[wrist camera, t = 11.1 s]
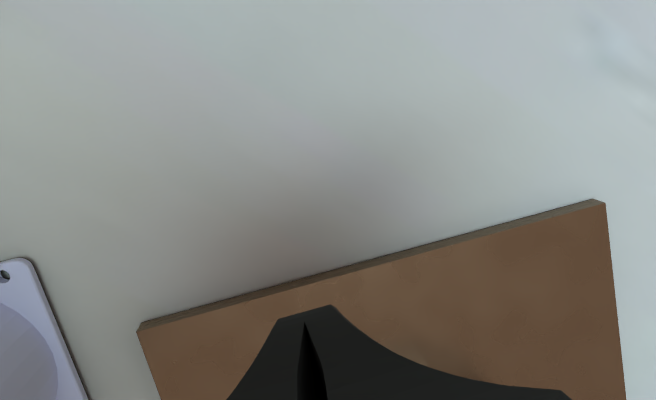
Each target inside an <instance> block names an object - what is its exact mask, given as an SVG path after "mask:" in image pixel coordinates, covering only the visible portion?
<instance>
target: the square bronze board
mask: <svg viewBox="0 0 656 400" xmlns="http://www.w3.org/2000/svg"><path fill="white" fill-rule="evenodd" d="M330 304H331V305H332V306H334V307H336V308H337V310H338V311H339V312H340V313H341V314H342V315H343V316H344V317H345V318H346V319H347V320H349V321H350V322H351V323H352V324H353V325H354V326H356V327H357V328H358V329H359V330H361V331H362V332H364V333H365V334H366V335H368V336H369V337H370V338H372V339H373V340H375V341H376V342H378V343H379V344H381V345H383V346H384V347H386V348H387V349H389V350H391V351H393V352H394V353H396V354H398V355H401V356H403V357H405V358H407V359H410V360H412V361H414V362H416V363H419V364H421V365H424V366H427V367H430V368H433V369H436V370H439V371H442V372H446V373H449V374H452V375H456V376H460V377H464V378H469V379H473V380H478V381H484V382H489V383H495V384H500V385H507V386H519V387H530V388H542V389H554V390H561V391H563V392H564V393H565V394H566V395H567V396H568V397H569V398H571V399H572V400H626V392H625V383H624V373H623V364H622V355H621V345H620V336H619V326H618V317H617V308H616V298H615V289H614V279H613V270H612V260H611V251H610V242H609V232H608V223H607V213H606V204H605V203H604V202H601V201H598V200H595V199H591V200H587V201H583V202H580V203H576V204H573V205H569V206H565V207H562V208H558V209H554V210H551V211H547V212H543V213H540V214H536V215H532V216H529V217H525V218H521V219H518V220H514V221H511V222H507V223H503V224H500V225H496V226H492V227H489V228H485V229H481V230H478V231H474V232H470V233H467V234H463V235H459V236H456V237H452V238H448V239H445V240H441V241H438V242H434V243H430V244H427V245H423V246H419V247H416V248H412V249H408V250H405V251H401V252H397V253H394V254H390V255H386V256H383V257H379V258H376V259H372V260H368V261H365V262H361V263H357V264H354V265H350V266H346V267H343V268H339V269H335V270H332V271H328V272H324V273H321V274H317V275H314V276H310V277H306V278H303V279H299V280H295V281H292V282H288V283H284V284H281V285H277V286H273V287H270V288H266V289H262V290H259V291H255V292H251V293H248V294H244V295H241V296H237V297H233V298H230V299H226V300H222V301H219V302H215V303H211V304H208V305H204V306H200V307H197V308H193V309H189V310H186V311H182V312H179V313H175V314H171V315H168V316H164V317H160V318H157V319H153V320H149V321H146V322H142V323H141V324H140V326H139V328H138V330H137V331H136V333H137V336H138V338H139V341H140V344H141V346H142V349H143V352H144V354H145V357H146V360H147V362H148V365H149V368H150V371H151V373H152V376H153V379H154V381H155V384H156V387H157V389H158V392H159V395H160V397H161V400H226V399H227V398H228V397H229V396H230V394H231V393H232V392H233V390H234V389H235V388H236V386H237V385H238V383H239V382H240V381H241V379H242V378H243V376H244V375H245V373H246V372H247V371H248V369H249V368H250V366H251V365H252V363H253V361H254V360H255V358H256V356H257V355H258V353H259V351H260V350H261V348H262V346H263V344H264V343H265V341H266V339H267V337H268V335H269V334H270V332H271V330H272V328H273V326H274V325H275V323H276V321H277V320H278V319H280V318H283V317H287V316H290V315H294V314H297V313H301V312H305V311H308V310H312V309H315V308H319V307H323V306H326V305H330Z"/></svg>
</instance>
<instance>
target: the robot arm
mask: <svg viewBox="0 0 656 400" xmlns="http://www.w3.org/2000/svg"><path fill="white" fill-rule="evenodd" d="M1 270H4V271H6V272H8V273H9V275H10V279H5V278H3V277H2V276H1ZM0 400H88V397H87V395H86V393H85V390H84V388H83V385H82V383H81V380H80V378H79V376H78V373H77V371H76V368H75V366H74V364H73V361H72V359H71V356H70V354H69V351H68V349H67V347H66V344H65V342H64V339H63V337H62V335H61V332H60V330H59V327H58V325H57V322H56V320H55V318H54V315H53V313H52V310H51V308H50V306H49V303H48V301H47V298H46V296H45V293H44V291H43V289H42V286H41V284H40V281H39V279H38V277H37V274H36V272H35V269H34V267H33V265H32V264H31V262H29V261H28V260H26V259H23V258H14V259H10V260H7V261H3V262H0ZM226 400H572V399H571V398H569V397H568V396H567V395H566V394H565V393H564V392H563V391H561V390H554V389H542V388H530V387H519V386H507V385H500V384H495V383H489V382H484V381H478V380H473V379H469V378H464V377H460V376H456V375H452V374H449V373H446V372H442V371H439V370H436V369H433V368H430V367H427V366H424V365H421V364H419V363H416V362H414V361H412V360H410V359H407V358H405V357H403V356H401V355H398V354H396V353H394V352H393V351H391V350H389V349H387V348H386V347H384V346H383V345H381V344H379V343H378V342H376V341H375V340H373V339H372V338H370V337H369V336H368V335H366V334H365V333H364V332H362V331H361V330H359V329H358V328H357V327H356V326H354V325H353V324H352V323H351V322H350V321H349V320H347V319H346V318H345V317H344V316H343V315H342V314H341V313H340V312H339V311H338V310H337V308H336V307H334V306H332V305H331V304H330V305H326V306H323V307H319V308H315V309H312V310H308V311H305V312H301V313H297V314H294V315H290V316H287V317H283V318H280V319H278V320H277V321H276V323H275V325H274V326H273V328H272V330H271V332H270V334H269V335H268V337H267V339H266V341H265V343H264V344H263V346H262V348H261V350H260V351H259V353H258V355H257V356H256V358H255V360H254V361H253V363H252V365H251V366H250V368H249V369H248V371H247V372H246V373H245V375H244V376H243V378H242V379H241V381H240V382H239V383H238V385H237V386H236V388H235V389H234V390H233V392H232V393H231V394H230V396H229V397H228V398H227V399H226Z"/></svg>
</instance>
